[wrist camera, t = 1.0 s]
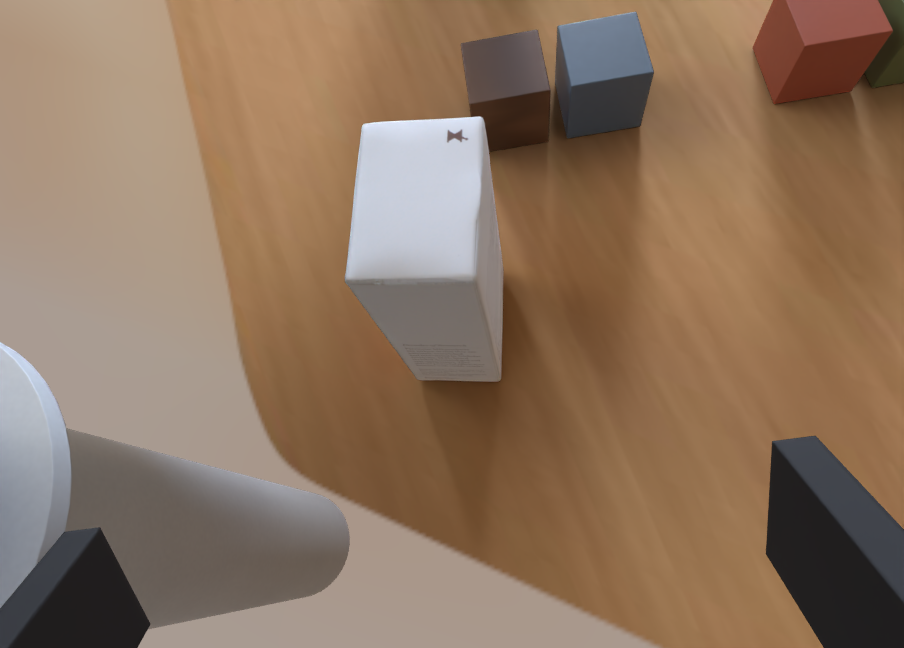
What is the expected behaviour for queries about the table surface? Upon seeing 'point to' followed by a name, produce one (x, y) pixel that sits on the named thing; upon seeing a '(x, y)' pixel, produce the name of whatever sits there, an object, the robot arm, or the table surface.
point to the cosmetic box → (429, 246)
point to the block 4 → (889, 49)
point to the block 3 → (818, 46)
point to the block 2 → (602, 74)
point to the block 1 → (508, 88)
